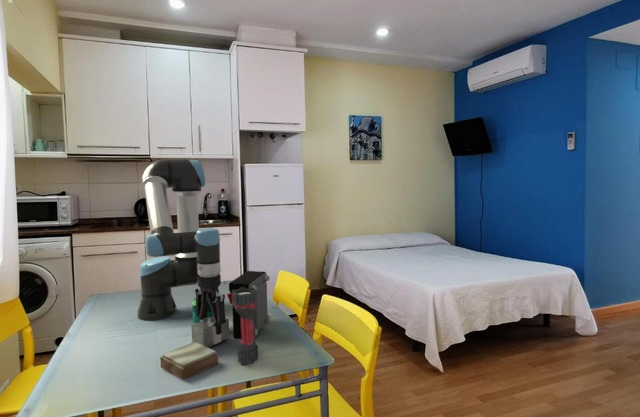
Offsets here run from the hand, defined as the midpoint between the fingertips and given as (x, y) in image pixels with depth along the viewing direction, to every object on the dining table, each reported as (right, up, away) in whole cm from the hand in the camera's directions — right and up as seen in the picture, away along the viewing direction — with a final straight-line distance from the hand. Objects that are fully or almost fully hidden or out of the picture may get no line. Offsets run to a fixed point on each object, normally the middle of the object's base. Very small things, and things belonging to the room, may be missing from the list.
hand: (211, 339), depth 131 cm
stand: (-2, -3, -15) cm, 15 cm away
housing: (0, 0, 0) cm, 0 cm away
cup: (-6, -1, +12) cm, 14 cm away
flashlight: (+15, -3, -13) cm, 20 cm away
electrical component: (+11, -1, +12) cm, 17 cm away
